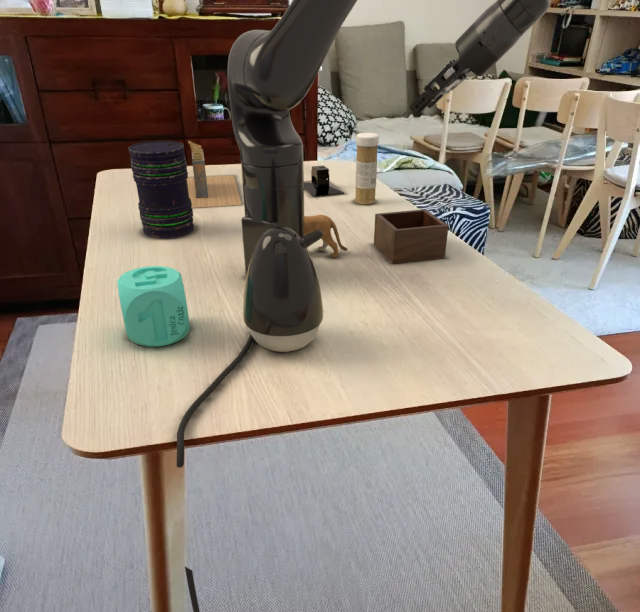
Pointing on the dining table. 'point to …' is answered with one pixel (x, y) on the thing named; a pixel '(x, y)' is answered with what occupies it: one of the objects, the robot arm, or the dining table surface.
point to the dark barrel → (162, 188)
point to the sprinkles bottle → (366, 167)
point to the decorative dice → (153, 306)
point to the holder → (410, 236)
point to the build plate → (321, 183)
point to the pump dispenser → (283, 291)
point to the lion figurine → (324, 232)
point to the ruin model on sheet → (199, 171)
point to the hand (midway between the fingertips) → (419, 107)
